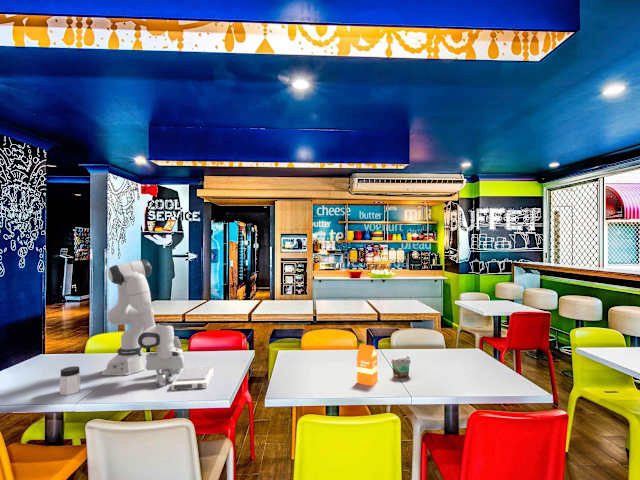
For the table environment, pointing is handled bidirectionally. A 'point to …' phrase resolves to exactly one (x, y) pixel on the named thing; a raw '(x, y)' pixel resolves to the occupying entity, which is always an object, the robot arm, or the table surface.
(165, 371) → the cylinder
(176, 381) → the white rimmed tray
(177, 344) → the tall pale column
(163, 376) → the cylinder
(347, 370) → the table surface
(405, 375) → the food container
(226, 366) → the table surface
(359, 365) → the orange juice
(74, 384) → the jar
